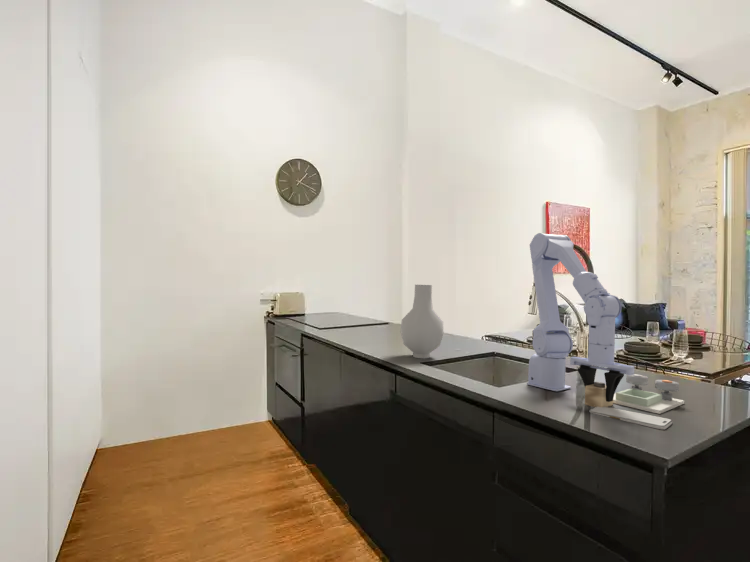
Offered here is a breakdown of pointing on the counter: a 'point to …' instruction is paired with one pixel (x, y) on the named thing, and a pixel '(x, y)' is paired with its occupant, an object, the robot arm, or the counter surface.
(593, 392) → the tan wooden block
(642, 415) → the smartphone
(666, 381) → the grey rounded cap
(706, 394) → the counter surface
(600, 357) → the robot arm
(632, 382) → the chassis
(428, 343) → the vase
